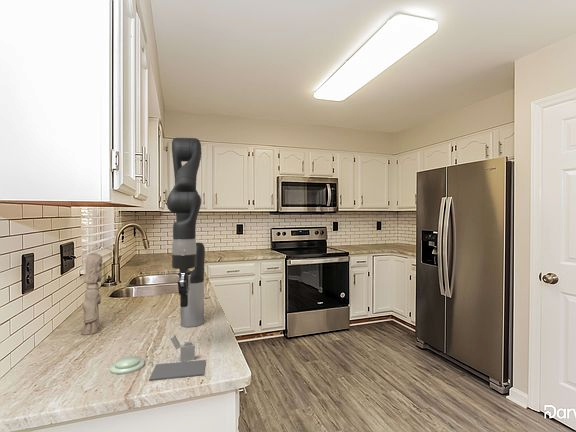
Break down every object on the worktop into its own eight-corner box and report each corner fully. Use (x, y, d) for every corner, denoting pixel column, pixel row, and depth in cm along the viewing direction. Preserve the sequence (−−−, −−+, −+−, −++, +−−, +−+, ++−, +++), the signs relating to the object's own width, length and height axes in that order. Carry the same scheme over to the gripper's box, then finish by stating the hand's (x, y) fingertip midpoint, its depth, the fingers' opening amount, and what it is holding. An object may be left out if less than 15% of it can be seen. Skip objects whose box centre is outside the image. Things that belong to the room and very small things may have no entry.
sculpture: (102, 332, 120) (102, 253, 121) (80, 336, 117) (80, 254, 117) (102, 327, 127) (102, 252, 127) (81, 330, 123) (82, 252, 124)
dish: (115, 361, 96) (115, 355, 96) (147, 358, 97) (147, 352, 97) (104, 375, 87) (104, 369, 87) (140, 372, 89) (140, 366, 89)
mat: (156, 365, 93) (156, 364, 93) (205, 361, 96) (205, 359, 96) (149, 380, 84) (149, 379, 84) (203, 375, 87) (203, 373, 87)
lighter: (194, 357, 98) (194, 331, 98) (194, 359, 97) (194, 333, 97) (170, 360, 96) (170, 334, 96) (169, 363, 94) (169, 336, 94)
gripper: (175, 251, 109) (175, 302, 109) (168, 255, 96) (168, 312, 96) (197, 251, 111) (197, 301, 110) (194, 254, 98) (194, 311, 97)
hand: (184, 306), depth 103 cm, fingers closed
